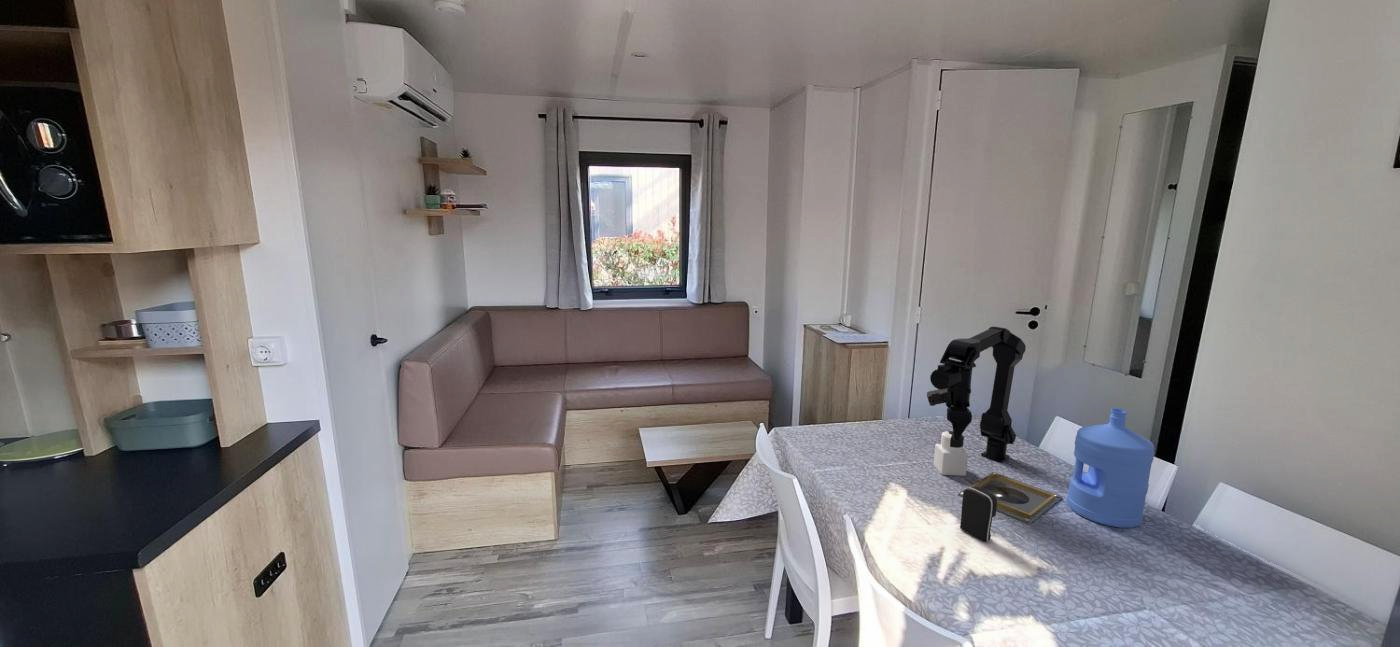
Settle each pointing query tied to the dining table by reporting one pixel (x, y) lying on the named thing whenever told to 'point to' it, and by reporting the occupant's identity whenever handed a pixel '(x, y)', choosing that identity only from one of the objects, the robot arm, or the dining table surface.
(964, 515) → the battery charger
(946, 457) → the medicine bottle
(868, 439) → the dining table surface
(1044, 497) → the lid
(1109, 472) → the water jug
